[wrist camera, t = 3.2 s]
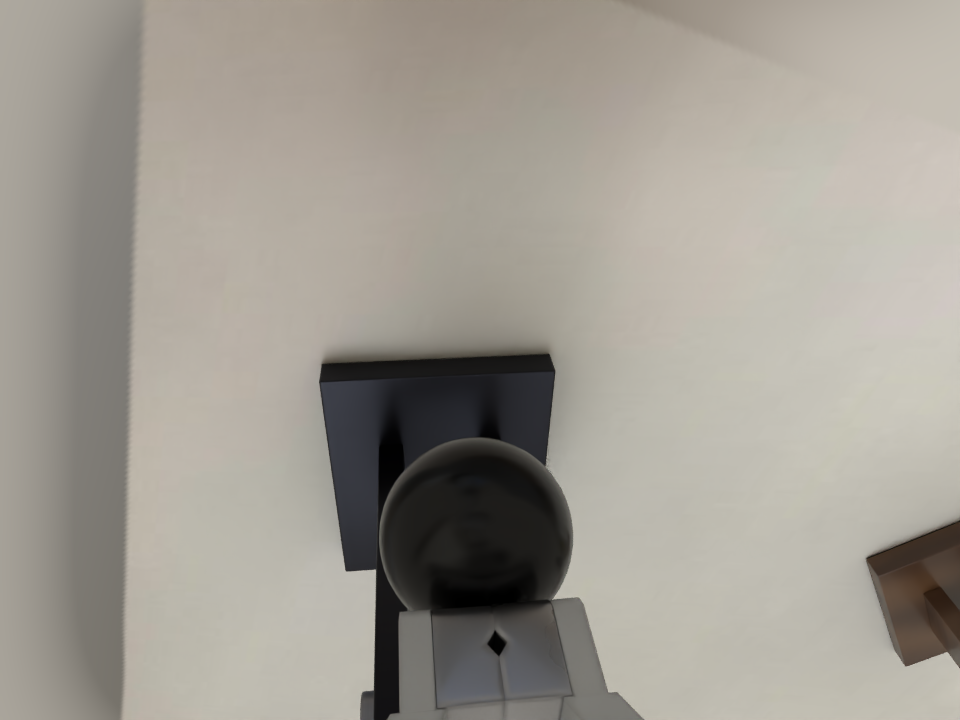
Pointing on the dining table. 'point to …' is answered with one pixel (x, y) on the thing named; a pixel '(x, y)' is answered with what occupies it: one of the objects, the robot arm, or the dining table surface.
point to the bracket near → (416, 454)
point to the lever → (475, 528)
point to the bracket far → (921, 595)
